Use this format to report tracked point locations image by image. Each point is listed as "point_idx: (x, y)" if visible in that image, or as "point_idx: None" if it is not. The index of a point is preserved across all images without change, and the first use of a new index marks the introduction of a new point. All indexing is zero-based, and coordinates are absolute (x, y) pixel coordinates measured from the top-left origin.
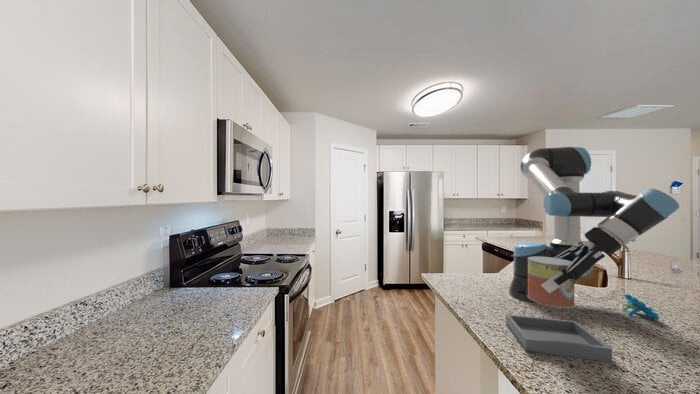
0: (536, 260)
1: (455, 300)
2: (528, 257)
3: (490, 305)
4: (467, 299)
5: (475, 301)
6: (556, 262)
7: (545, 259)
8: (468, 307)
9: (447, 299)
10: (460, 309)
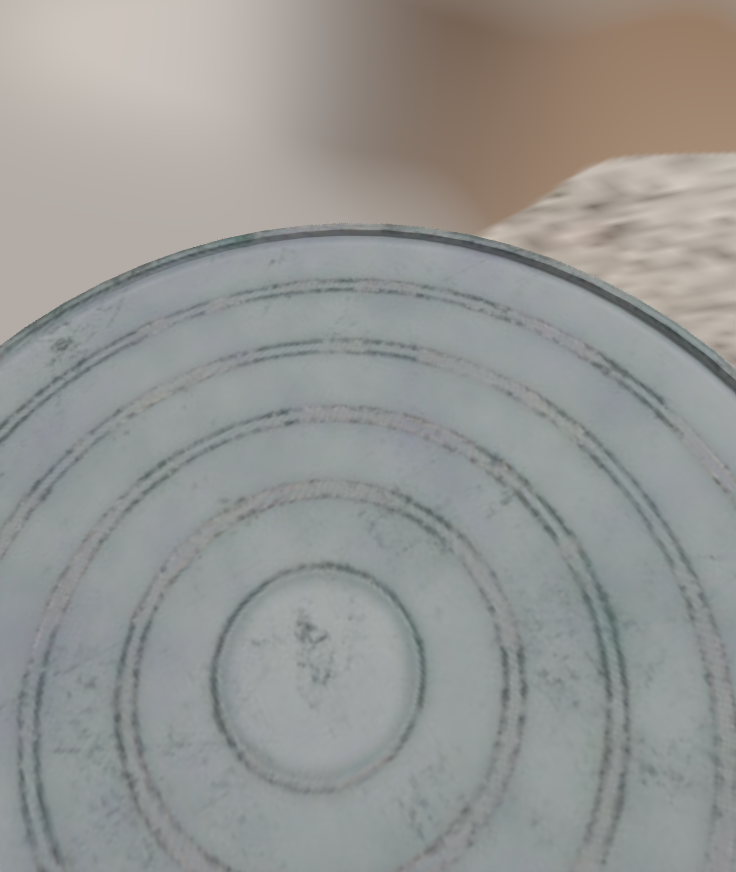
0: (144, 376)
1: (635, 192)
2: (399, 232)
3: (732, 362)
4: (717, 237)
5: (724, 279)
6: (110, 844)
7: (418, 556)
8: (578, 269)
9: (613, 159)
10: (510, 244)
